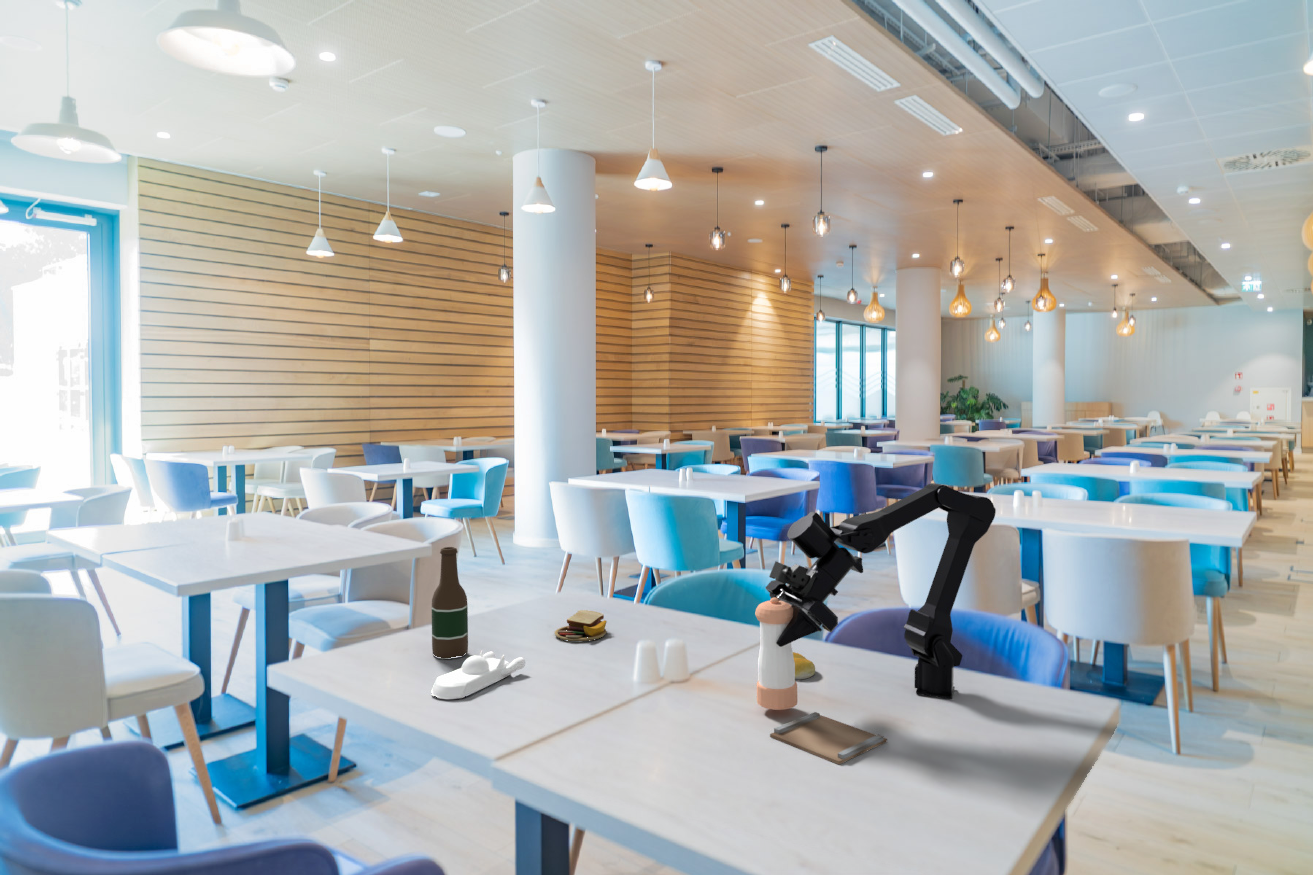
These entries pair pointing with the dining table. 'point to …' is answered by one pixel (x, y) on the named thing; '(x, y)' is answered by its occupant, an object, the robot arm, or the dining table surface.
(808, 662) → the bread roll
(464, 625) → the beer bottle
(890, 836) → the dining table surface
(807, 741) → the serving tray
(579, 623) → the toy sandwich meal
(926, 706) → the dining table surface
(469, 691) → the white elongated plastic piece
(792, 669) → the pepper shaker
